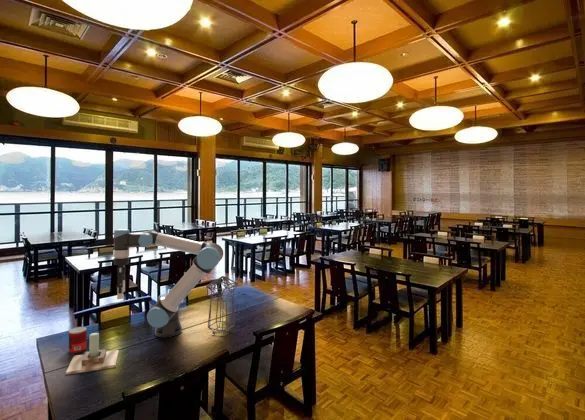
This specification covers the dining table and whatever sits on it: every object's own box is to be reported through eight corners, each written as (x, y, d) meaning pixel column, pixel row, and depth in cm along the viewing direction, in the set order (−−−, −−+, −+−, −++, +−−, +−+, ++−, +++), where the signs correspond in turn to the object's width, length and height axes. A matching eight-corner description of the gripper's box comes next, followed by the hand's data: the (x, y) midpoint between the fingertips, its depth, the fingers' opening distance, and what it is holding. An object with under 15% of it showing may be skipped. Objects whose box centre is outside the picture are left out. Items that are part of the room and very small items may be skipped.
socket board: (118, 351, 173) (118, 344, 173) (115, 367, 158) (115, 359, 158) (73, 358, 165) (73, 350, 165) (65, 374, 151) (65, 366, 150)
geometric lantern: (203, 336, 195) (204, 277, 194) (216, 327, 210) (217, 272, 209) (227, 340, 190) (228, 280, 189) (239, 330, 205) (240, 274, 204)
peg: (99, 359, 164) (99, 332, 164) (98, 363, 161) (98, 335, 160) (90, 361, 163) (90, 333, 162) (88, 365, 159) (88, 336, 158)
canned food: (90, 347, 176) (90, 327, 176) (76, 354, 169) (76, 333, 168) (78, 345, 178) (78, 325, 178) (65, 352, 171) (65, 331, 170)
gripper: (116, 253, 191) (116, 289, 193) (111, 262, 169) (110, 302, 170) (130, 252, 194) (130, 288, 195) (127, 261, 171) (127, 301, 173)
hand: (121, 295), depth 183 cm, fingers open, 13 cm apart
